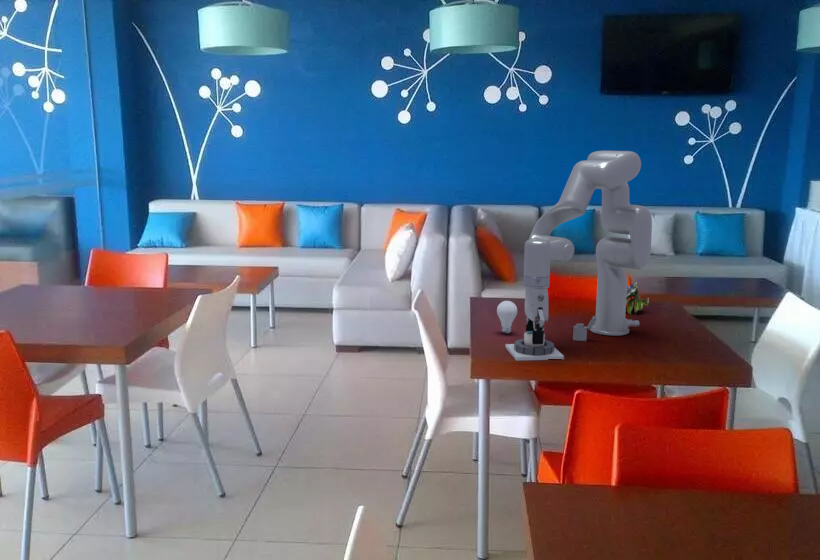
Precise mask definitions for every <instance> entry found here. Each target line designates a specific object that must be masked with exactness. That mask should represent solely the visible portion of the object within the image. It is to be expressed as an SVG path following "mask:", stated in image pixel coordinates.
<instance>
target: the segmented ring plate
mask: <svg viewBox="0 0 820 560" xmlns="http://www.w3.org/2000/svg"><path fill="white" fill-rule="evenodd" d="M505 349H506V350H507V351H508V352H509V354H510V355H511V356H512V357H513V358H514V360H515V361H516V362H517V361H518V362H519V361H549V360H548V359H562V360H565V355H564V354H563V353H561V352H560V350H558V349H557V348H556V347H555V343H553V341H550V340H547V339H545V341H544V346H543V347H530V346H525V345H524V338H520V339H516V340H515V341H514V342H513V343H505Z"/></svg>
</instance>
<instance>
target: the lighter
mask: <svg viewBox="0 0 820 560" xmlns="http://www.w3.org/2000/svg"><path fill="white" fill-rule="evenodd" d="M596 320H597V317H596V315H593V316H592V318H591V319H590V321H589V323H588V324H587V325H586V326H585V325H584V323H576V324H575V325H573V328H572V329H573V334H572V340H573V341H577V342H579V341H581V342H587V337H588V335H587V333H588V332H587V331H588V330H590V331H591V329H592V327H593V325H594V324H595V322H596Z"/></svg>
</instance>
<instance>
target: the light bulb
mask: <svg viewBox="0 0 820 560" xmlns="http://www.w3.org/2000/svg"><path fill="white" fill-rule="evenodd" d="M517 314H518V308H517V305H516V304H515V303H514V302H513V301H510V300H503V301H501V302H500V303H499V304H498V305H497V308H496V315H497V317H498V318H499V320H500V322H501V324H500V325H501V331H502V333H503V334H506V335H507V334H510V333H511V332H512V328H511V327H512V326H513V322H514V319H515V318H516V317H517Z"/></svg>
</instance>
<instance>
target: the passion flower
mask: <svg viewBox="0 0 820 560" xmlns="http://www.w3.org/2000/svg"><path fill="white" fill-rule="evenodd" d="M638 284H639V282H638V281H635V283H634V284H633V283H631V284H629V285H627V296H626V312H627V314H629V315H632V311H633V308H634V313H635V314H636V313H638V311H643V308H644V306H646V307H649V302H650V297H646V298H640V295H639V287H638Z"/></svg>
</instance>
